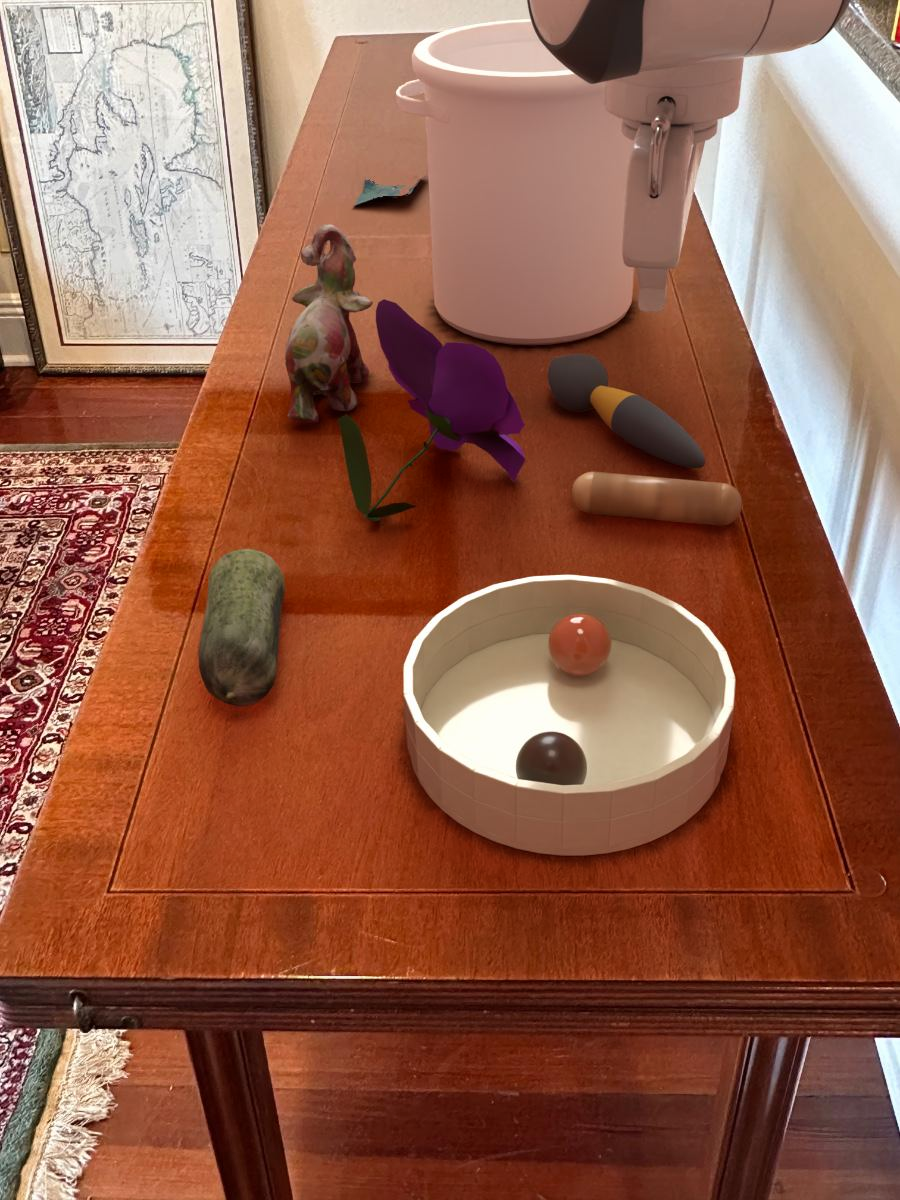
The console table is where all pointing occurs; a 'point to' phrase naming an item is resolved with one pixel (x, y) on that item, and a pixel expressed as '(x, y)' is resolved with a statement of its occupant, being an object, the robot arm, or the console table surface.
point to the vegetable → (241, 627)
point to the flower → (438, 402)
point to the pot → (520, 187)
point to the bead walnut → (552, 760)
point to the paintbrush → (621, 410)
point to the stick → (657, 498)
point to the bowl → (568, 714)
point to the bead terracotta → (579, 644)
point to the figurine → (326, 330)
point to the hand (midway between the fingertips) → (658, 281)
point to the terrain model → (378, 191)
